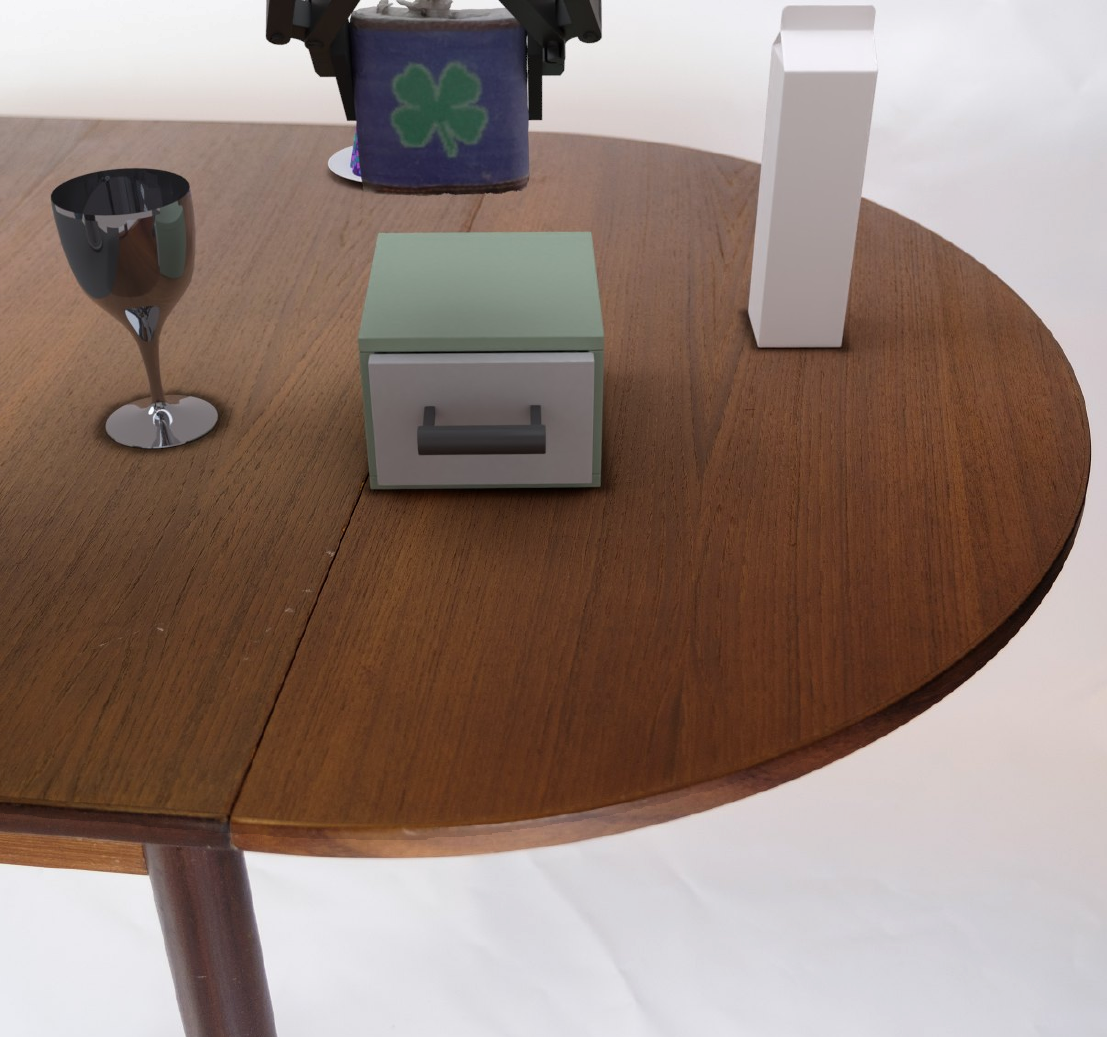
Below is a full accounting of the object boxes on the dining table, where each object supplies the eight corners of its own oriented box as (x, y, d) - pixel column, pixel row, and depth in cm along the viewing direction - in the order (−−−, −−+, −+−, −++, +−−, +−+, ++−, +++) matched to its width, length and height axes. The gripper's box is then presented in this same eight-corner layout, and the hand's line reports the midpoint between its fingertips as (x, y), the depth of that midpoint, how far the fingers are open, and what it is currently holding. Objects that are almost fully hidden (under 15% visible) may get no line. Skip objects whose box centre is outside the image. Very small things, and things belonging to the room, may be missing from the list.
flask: (530, 177, 80) (527, -33, 73) (529, 196, 77) (526, -19, 71) (363, 178, 80) (345, -32, 73) (357, 197, 77) (338, -18, 71)
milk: (747, 314, 107) (774, -7, 93) (829, 313, 107) (867, -8, 94) (757, 349, 102) (787, 16, 89) (843, 348, 102) (886, 15, 89)
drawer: (595, 522, 82) (598, 396, 77) (372, 525, 81) (361, 398, 77) (581, 372, 97) (583, 259, 92) (393, 374, 96) (385, 260, 92)
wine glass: (142, 384, 97) (100, 161, 88) (247, 403, 95) (215, 176, 86) (73, 439, 91) (21, 205, 82) (183, 460, 89) (142, 223, 80)
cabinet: (600, 487, 87) (604, 335, 81) (370, 489, 86) (357, 337, 80) (588, 369, 99) (591, 230, 93) (387, 371, 99) (377, 232, 93)
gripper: (124, -113, 56) (242, 162, 78) (687, -114, 56) (645, 161, 78) (130, -287, 57) (245, 33, 79) (683, -288, 57) (643, 32, 79)
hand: (444, 97), depth 79 cm, fingers closed on flask, 9 cm apart
